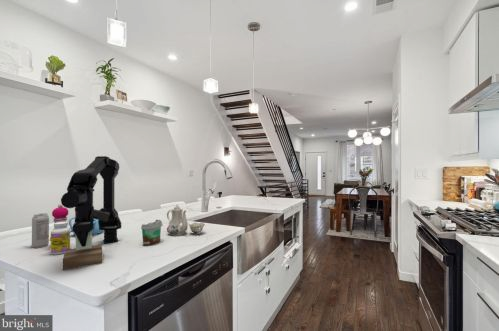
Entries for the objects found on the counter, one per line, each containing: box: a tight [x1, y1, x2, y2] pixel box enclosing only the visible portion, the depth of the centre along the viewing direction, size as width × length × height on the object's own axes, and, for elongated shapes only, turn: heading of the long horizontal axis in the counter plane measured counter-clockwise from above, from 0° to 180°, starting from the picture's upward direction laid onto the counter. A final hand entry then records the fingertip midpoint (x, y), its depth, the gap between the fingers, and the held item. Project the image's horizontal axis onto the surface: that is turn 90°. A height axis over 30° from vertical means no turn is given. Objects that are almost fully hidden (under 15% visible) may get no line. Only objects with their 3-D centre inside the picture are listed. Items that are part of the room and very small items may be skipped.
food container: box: [140, 219, 163, 247], centre depth 117 cm, size 12×6×10 cm, turn 168°
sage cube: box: [75, 232, 93, 250], centre depth 94 cm, size 5×5×5 cm
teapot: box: [68, 216, 104, 236], centre depth 133 cm, size 20×20×13 cm
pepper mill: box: [49, 203, 69, 242], centre depth 111 cm, size 7×7×20 cm
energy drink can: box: [31, 212, 50, 249], centre depth 113 cm, size 6×6×15 cm
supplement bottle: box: [50, 221, 71, 256], centre depth 104 cm, size 7×7×13 cm
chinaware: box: [166, 204, 206, 237], centre depth 136 cm, size 28×17×17 cm, turn 57°
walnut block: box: [62, 244, 103, 271], centre depth 94 cm, size 12×12×4 cm
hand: (84, 244), depth 94 cm, fingers closed on sage cube, 5 cm apart
